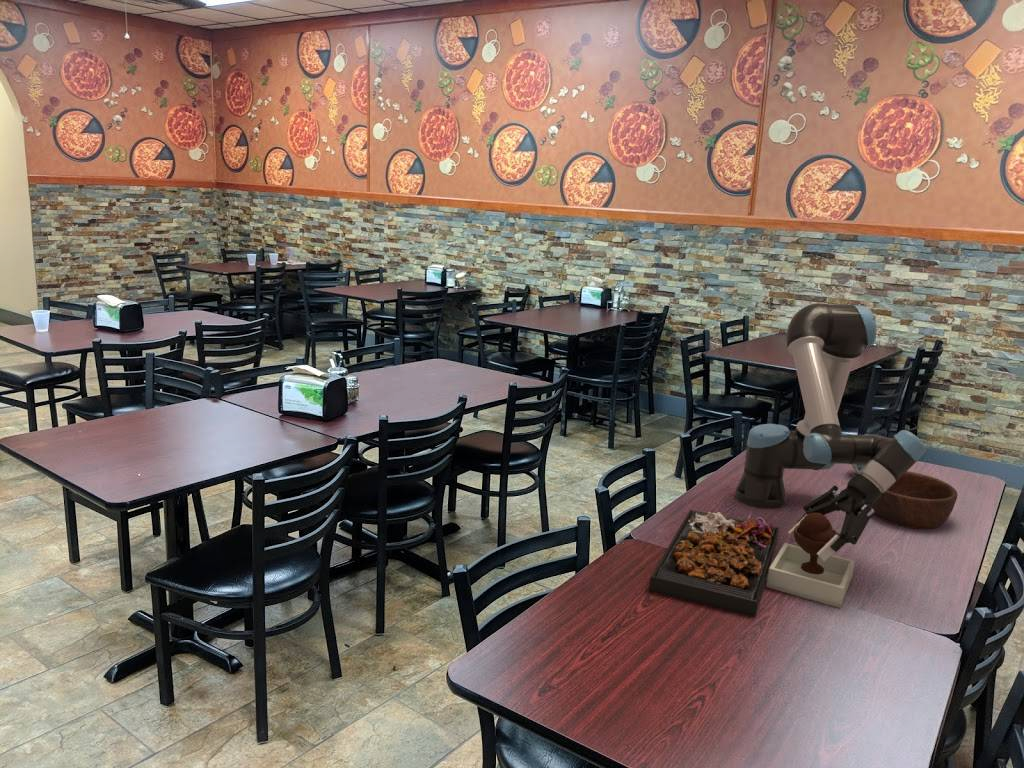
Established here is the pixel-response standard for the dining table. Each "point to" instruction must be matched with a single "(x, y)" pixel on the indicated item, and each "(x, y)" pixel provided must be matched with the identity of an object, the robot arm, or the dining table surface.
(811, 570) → the ice cream bowl
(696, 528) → the food platter
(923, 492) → the wooden bowl
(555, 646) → the dining table surface
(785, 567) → the bin
